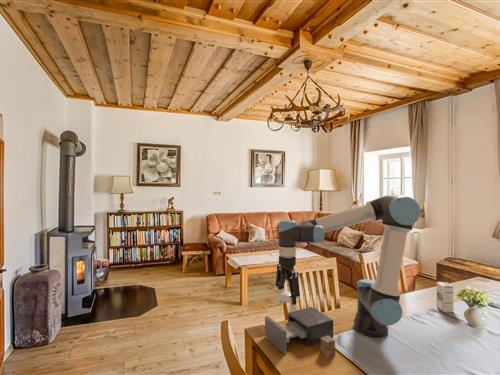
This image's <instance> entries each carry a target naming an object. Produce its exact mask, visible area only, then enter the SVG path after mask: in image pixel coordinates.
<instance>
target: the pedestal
mask: <svg viewBox="0 0 500 375" xmlns="http://www.w3.org/2000/svg"><path fill="white" fill-rule="evenodd" d="M320 353H321V354H322V355H323V356H324V357H326V358H331V357H333V356H335V355H336V340H335V339H334V337H333V338H331V337H330V336H325V337H322V338H321V343H320Z"/></svg>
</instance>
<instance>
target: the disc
mask: <svg viewBox="0 0 500 375" xmlns="http://www.w3.org/2000/svg"><path fill="white" fill-rule="evenodd" d="M290 296H291V293H290V290H285V291H281V292H279V291H278V293H277V300H278V302H279V301H281V302H285V303H287V304H290Z"/></svg>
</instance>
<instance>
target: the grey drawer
mask: <svg viewBox="0 0 500 375" xmlns="http://www.w3.org/2000/svg"><path fill="white" fill-rule="evenodd" d="M296 336H299V337H300V338H305V337H307V329H306V328H304V327H303V326H301V325H300V324H299V323H297V322H296V321H295V320H293V321H290V322H288V321H287V322H285V327H282V326H281V325H280V324H279V323H277V322H276V321H275V320H273V319H272V318H271V317H270V316H268V315H267V316H264V337H265V338H267V340H268V341H269V342H270V343H271V344H272V345H273V346H275V347H276V348H277V349H278V350H279V351H280V352H281V353H282V354H286V353H287V348H288V347H287V343H290V339H292V338H297V337H296Z"/></svg>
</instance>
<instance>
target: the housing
mask: <svg viewBox="0 0 500 375" xmlns="http://www.w3.org/2000/svg"><path fill="white" fill-rule="evenodd" d="M293 320H295V321H296V322H297V323H299V324H300V325H301V326H303V327H304V328H306V329H307V337H305V338H300V337H299V336H296V337H295V338H297V340H299V341H301V342H302V343H303V344H304V345H305V346H306V347H308V348H309V347H312V346H315V345H318V344H321V338H322V337H325V336H330V337H331V338H333V339H334V319H332V318H331V317H329V316H328V315H326V314H325V313H323V312H321V311H319V310H317V309H316V308H314V307H312V306H310V307H306V308H302V309H296V311H294V312H290V311H289V312H287V323H288V322H290V321H293Z"/></svg>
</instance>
